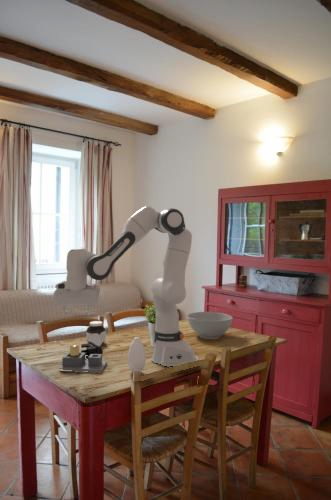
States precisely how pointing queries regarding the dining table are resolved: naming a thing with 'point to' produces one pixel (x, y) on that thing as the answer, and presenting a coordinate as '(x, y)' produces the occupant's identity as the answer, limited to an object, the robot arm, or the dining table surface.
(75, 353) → the pipe nipple
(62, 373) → the dining table surface
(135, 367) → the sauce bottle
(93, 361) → the socket block
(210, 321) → the decorative bowl
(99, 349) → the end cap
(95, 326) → the spread jar
